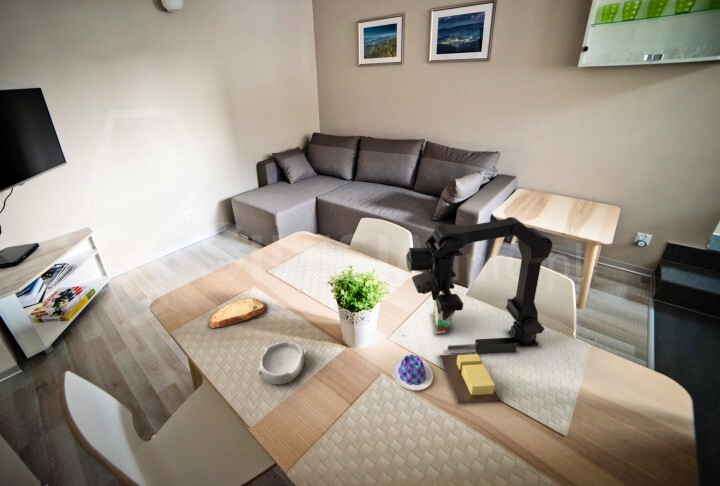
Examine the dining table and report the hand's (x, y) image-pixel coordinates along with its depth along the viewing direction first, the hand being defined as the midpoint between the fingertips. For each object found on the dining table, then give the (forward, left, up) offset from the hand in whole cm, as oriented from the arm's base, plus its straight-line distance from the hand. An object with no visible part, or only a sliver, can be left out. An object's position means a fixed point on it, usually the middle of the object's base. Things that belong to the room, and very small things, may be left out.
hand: (439, 309), depth 102 cm
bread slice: (+71, -20, -15) cm, 75 cm away
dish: (+51, +6, -15) cm, 53 cm away
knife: (-13, +4, -15) cm, 20 cm away
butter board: (-5, +13, -15) cm, 20 cm away
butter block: (-6, +16, -14) cm, 22 cm away
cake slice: (-5, -8, -15) cm, 18 cm away
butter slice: (-6, +10, -14) cm, 18 cm away
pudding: (+11, +11, -15) cm, 21 cm away
